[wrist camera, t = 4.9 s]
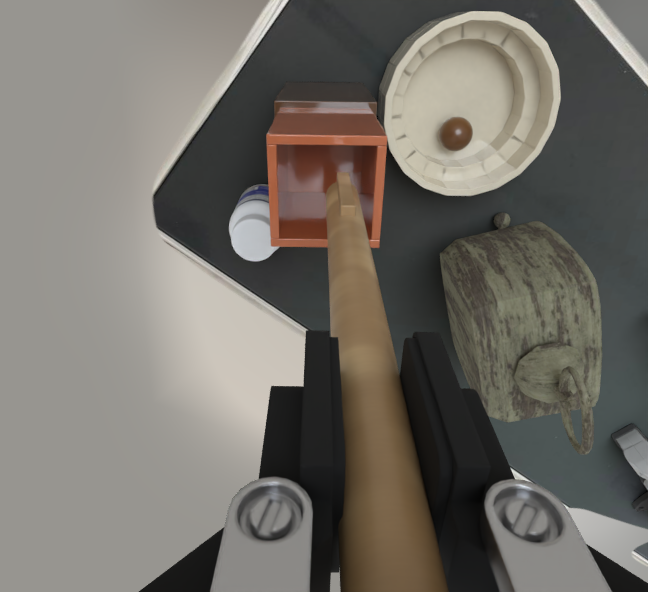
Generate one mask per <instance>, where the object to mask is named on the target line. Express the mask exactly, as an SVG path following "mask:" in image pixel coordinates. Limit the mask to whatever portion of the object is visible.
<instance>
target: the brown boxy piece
mask: <svg viewBox="0 0 648 592" xmlns="http://www.w3.org/2000/svg"><path fill="white" fill-rule="evenodd" d="M274 115H275V119H274V121H273V123H272V125H271V127H270V129H269V131H268V133H267V135H266V138H267V163H268V188H269V213H270V237H271V246H272V247H328V242H327V216H326V192H327V190H328V188H329V187H330V186H331V185H332V184H333V183H335V182H336V181H337V172H348V173H349V175H350V180H351V183H352V184H353V185H354V186H355V187H356V189H357V191H358V195H359V199H360V204H361V208H362V213H363V217H364V221H365V226H366V230H367V235H368V239H369V243H370V248H379V246H380V232H381V219H382V205H383V192H384V178H385V165H386V151H387V138H388V137H387V135H386V133H385V132H384V130H383V128H382V127H381V125H380V123H379V121H378V120H377V118H376V115H377V102H376V100H375V99H374V98H373V96H372V95H371V93H370V92H369V91H368V89H367V88H366V86H365V85H364V84H363V83H350V82H286V83H285V84H284V86H283V88H282V89H281V91H280V93H279V94H278V96H277V97H276V99H275V101H274Z"/></svg>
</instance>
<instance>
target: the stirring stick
mask: <svg viewBox="0 0 648 592" xmlns="http://www.w3.org/2000/svg"><path fill="white" fill-rule="evenodd" d="M326 216H327V242H328V269H329V295H330V322H331V337H338V341H339V358H340V374H341V391H342V408H343V424H344V441H345V488H344V504H343V516H342V518H341V520H340V522H339V526H338V534H339V561H340V587H341V592H449V589H448V585H447V581H446V576H445V572H444V568H443V563H442V559H441V554H440V550H439V546H438V541H437V537H436V532H435V528H434V524H433V520H432V516H431V512H430V507H429V503H428V498H427V494H426V490H425V485H424V481H423V477H422V472H421V468H420V463H419V459H418V455H417V450H416V446H415V441H414V437H413V433H412V428H411V424H410V419H409V415H408V411H407V406H406V402H405V397H404V393H403V389H402V384H401V380H400V375H399V370H398V366H397V362H396V357H395V353H394V348H393V344H392V340H391V335H390V331H389V327H388V322H387V318H386V313H385V309H384V305H383V300H382V296H381V291H380V287H379V283H378V278H377V274H376V270H375V265H374V261H373V256H372V252H371V248H370V243H369V239H368V235H367V230H366V226H365V221H364V217H363V213H362V208H361V204H360V199H359V195H358V191H357V189H356V187H355V186H354V185H353V184H352V183H351V180H350V175H349V173H348V172H337V181H336V182H335V183H333V184H332V185H331V186H330V187H329V188H328V190H327V192H326Z"/></svg>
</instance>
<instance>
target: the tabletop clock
mask: <svg viewBox="0 0 648 592" xmlns="http://www.w3.org/2000/svg"><path fill="white" fill-rule="evenodd" d="M510 220H511V219H510V217H509V215H508V214H506V213H498V214H497V215H496V216H495V218H494V223H495V226H497V227H499V228H498V230H494V231H490V232H486V233H481V234H477V235H473V236H468V237H464V238H460V239H456V240H455V241H453V242H452V243H451V244H450V245H449V246H448V247H447V248H446V249H445V250H443V251H442V252H441V253H440V263H441V271H442V278H443V285H444V292H445V298H446V304H447V310H448V316H449V322H450V328H451V333H452V338H453V343H454V346H455V349H456V352H457V355H458V358H459V361H460V363H461V366H462V368H463V371H464V373H465V376H466V379H467V381H468V384H469V386H470V388H471V389H475V390H476V391H477V393H478V394H479V396H480V399H481V401H482V403H483V406H484V408H485V410H486V413H487V415H488V416H490V417H493V418H496V419H499V420H502V421H505V422H512V421H518V420H523V419H528V418H534V417H539V416H545V415H550V414H555V413H561V414H562V419H563V424H564V427H565V429H566V432H567V435H568V437H569V440H570V442H571V444H572V446H573V447H574V449H575V450H576V451H577V452H578V453H579V454H588V453H589V451H590V450H591V448H592V446H593V440H594V422H593V412H592V408H591V407H593V406H595V405H596V402H597V400H598V397H599V392H600V379H601V365H602V332H601V308H600V299H599V293H598V288H597V283H596V280H595V278H594V276H593V275H592V273H591V271H590V270H589V268H588V266H587V265H586V263H585V262H584V261H583V260H582V258H581V257H580V256H579V255H578V253H577V252H576V251H575V250H574V249H573V248H572V247H571V246H570V245H569V244H568V243H567V242H566V241H565V240H564V239H563V238H562V237H561V236H560V235H559V234H558V233H557V232H555V231H554V230H552V229H551V228H550V227H548V226H547V225H546V224H544V223H542V222H539V221H534V222H529V223H525V224H520V225H516V226H512V227H507V226H508V225H509V224H510ZM505 227H507V228H505ZM577 409H581V411H582V444H581V446H580V445H579V443H578V442H577V440H576V438H575V435H574V432H573V426H572V421H571V413H570V411H571V410H577Z"/></svg>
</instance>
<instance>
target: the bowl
mask: <svg viewBox="0 0 648 592" xmlns="http://www.w3.org/2000/svg"><path fill="white" fill-rule="evenodd" d="M560 100H561V95H560V81H559V70H558V66H557V64H556V62H555V59H554V57H553V55H552V53H551V50H550V48H549V46H548V44H547V42H546V41H545V40H544V39H543V38H542V37H541V36H540V35H539V34H538V33H537V32H536V31H535V30H534V29H533V28H532V27H531V26H530V25H529V24H528V23H527V22H524V21H522V20H520V19H517V18H515V17H512V16H510V15H508V14H505V13H503V12H488V11H469V12H458V13H452V14H449V15H447V16H444V17H441V18H438V19H435V20H432V21H429V22H427V23H426V24H425V25H423V26H422V27H421V28H419V29H418V30H417V31H415V32H414V33H413V34H411V35H410V36H409V37H407V38H406V40H404V42H403V43H402V44H401V46H400V47H399V49H398V50H397V51H396V53H395V54H394V55H393V57H392V58H391V59H390V61H389V63H388V65H387V68H386V70H385V73H384V76H383V79H382V81H381V84H380V87H379V96H378V112H377V114H378V119H379V123H380V125H381V127H382V128H383V130H384V132H385V133H386V135H387V137H388V138H387V146H388V148H389V150H390V152H391V153H392V155H393V156H394V158H395V160H396V161H397V163H398V164H399V166H400V168H401V169H402V171H403V172H404V173H405V174H406V175H407V176H409V177H410V178H411V179H412V180H414V181H415V182H416V183H418V184H419V185H420V186H421V187H423V188H425V189H428V190H431V191H434V192H437V193H440V194H443V195H446V196H473V195H476V194H480V193H483V192H487V191H490V190H494V189H496V188H499V187H500V186H502V185H503V184H505V183H507V182H508V181H510V180H512V179H513V178H515V177H516V176H518V175H520V174H521V173H522V172H523V171H524V170H525V169H526V168H527V166H528V165H529V164H530V163H531V162H532V161H533V160H534V159H535V158H536V157H537V156H538V155H539V154H540V152H541V150H542V148H543V147H544V145H545V143H546V141H547V139H548V137H549V136H550V134H551V132H552V130H553V128H554V126H555V121H556V117H557V113H558V108H559V104H560ZM457 116H458V117H463V118H465V119H467V120H468V121H469V122H470V124H471V126H472V129H473V136H472V139H471V141H470V143H469V144H468V145H467V146H466V147H465V148H464V149H462V150H459V151H450V150H448V149H446V148H444V147H443V146H442V144H441V142H440V140H439V130H440V128H441V126H442V124H443V123H444V122H445V121H446V120H447V119H449V118H451V117H457Z"/></svg>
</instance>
